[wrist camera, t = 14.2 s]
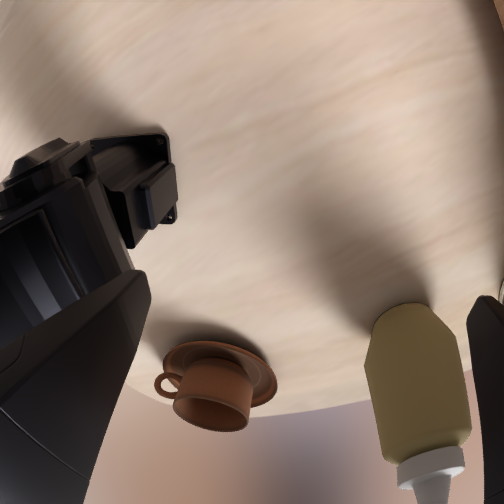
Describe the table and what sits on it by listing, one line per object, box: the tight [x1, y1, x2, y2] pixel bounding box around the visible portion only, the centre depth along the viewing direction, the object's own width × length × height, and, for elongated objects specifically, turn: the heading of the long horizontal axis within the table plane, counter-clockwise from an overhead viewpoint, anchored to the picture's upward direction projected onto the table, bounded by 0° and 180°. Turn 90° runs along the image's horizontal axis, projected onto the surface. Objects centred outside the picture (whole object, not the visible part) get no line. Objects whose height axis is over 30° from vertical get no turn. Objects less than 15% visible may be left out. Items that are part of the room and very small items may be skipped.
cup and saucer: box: [154, 341, 277, 432], centre depth 29 cm, size 12×12×6 cm
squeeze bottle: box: [364, 303, 472, 504], centre depth 17 cm, size 8×8×18 cm
